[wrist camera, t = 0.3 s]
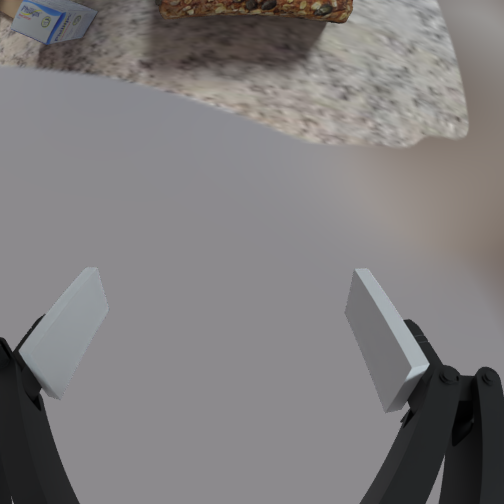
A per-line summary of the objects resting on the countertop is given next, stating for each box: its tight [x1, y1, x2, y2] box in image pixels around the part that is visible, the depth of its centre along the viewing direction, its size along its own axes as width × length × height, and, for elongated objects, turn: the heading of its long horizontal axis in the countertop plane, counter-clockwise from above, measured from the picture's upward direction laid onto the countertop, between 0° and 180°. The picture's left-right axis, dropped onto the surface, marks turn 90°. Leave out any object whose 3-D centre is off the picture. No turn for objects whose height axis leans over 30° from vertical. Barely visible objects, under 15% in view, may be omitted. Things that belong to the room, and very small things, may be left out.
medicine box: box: [10, 0, 98, 45], centre depth 17 cm, size 8×4×9 cm, turn 50°
